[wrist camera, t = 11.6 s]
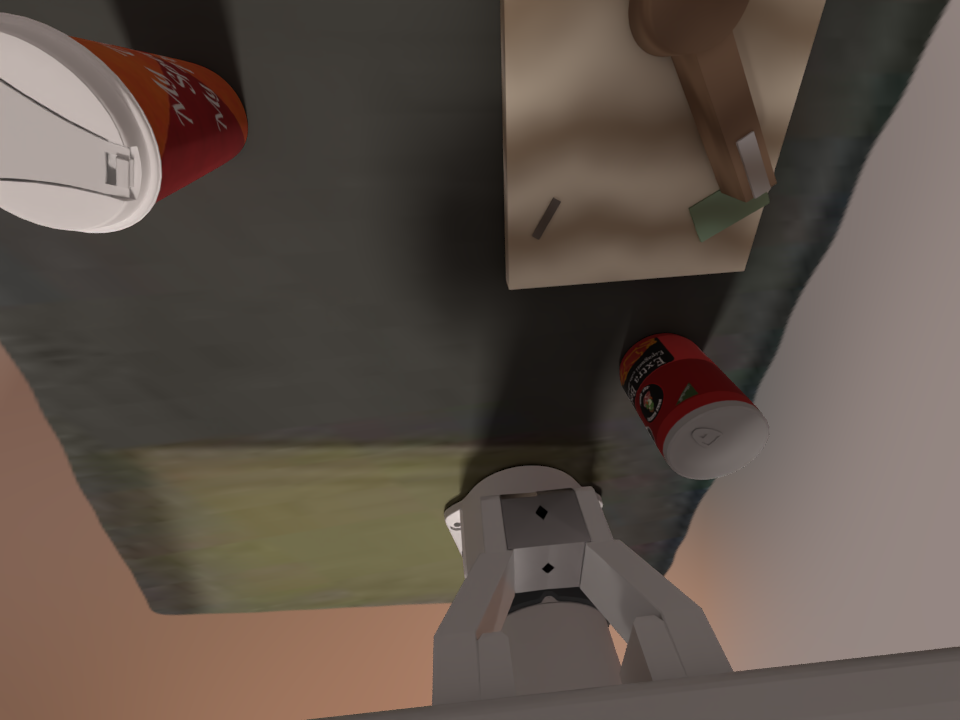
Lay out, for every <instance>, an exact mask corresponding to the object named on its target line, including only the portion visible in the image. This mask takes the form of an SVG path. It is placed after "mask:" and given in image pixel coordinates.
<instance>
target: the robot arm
mask: <svg viewBox="0 0 960 720" xmlns="http://www.w3.org/2000/svg"><path fill="white" fill-rule="evenodd" d="M602 506H603V503H602V499H601V496H600V495H599V494H597V493H595V490H594V489H593V488H592V486H587V487H581V486H580V485H579V484H578V483H577V482H576V481H575V479H573V478H572V477H571V476H570V475H568V474H566V473H564V472H562V471H560V470H557V469H554V468H550V467H545V466H519V467H513V468H509V469H505V470H502V471H499V472H497V473H495V474H492V475H490V476H488V477H487V478H485V479H483V480H482V481H481V482H479V483H478V484H477V485H476V486H475V487H474V488H473V489H472V490H471V491H470V492H469V493H468V495H467V496H466V497H465V498H464V499H463V500H462V501H460V502H458V503H456V504H454V505H452V506H451V507H449V508H448V509H447V510H446V511H445V512H444V517H445V522H446V525H447V527H448V529H449V531H450V533H451V535H452V537H453V539H454V541H455V543H456V545H457V547H458V549H459V551H460V553H461V555H462V557H463V566H464V575H465V578H466V579H465V580H464V582H463V584H462V586H461V588H460V590H459V591H458V593H457V595H456V597H455V599H454V601H453V602H452V604H451V606H450V608H449V610H448V612H447V614H446V615H445V617H444V619H443V621H442V623H441V624H440V626H439V628H438V630H437V632H436V634H435V635H434V648H433V695H432V706H424V707H416V708H407V709H397V710H389V711H380V712H371V713H362V714H353V715H344V716H336V717H327V718H318V719H309V720H960V647H952V648H942V649H934V650H924V651H915V652H907V653H897V654H888V655H880V656H871V657H861V658H852V659H844V660H835V661H826V662H817V663H809V664H799V665H790V666H782V667H773V668H763V669H755V670H746V671H736V672H733V670H732V668H731V666H730V664H729V662H728V660H727V658H726V656H725V654H724V652H723V650H722V648H721V646H720V644H719V642H718V640H717V638H716V636H715V634H714V632H713V630H712V628H711V626H710V624H709V622H708V620H707V618H706V616H705V614H704V612H703V610H702V608H701V607H699V606H698V605H697V604H696V603H695V602H693V601H692V600H691V599H690V598H689V597H687V596H686V595H685V594H684V593H683V592H681V591H680V590H679V589H678V588H677V587H675V586H674V585H673V584H672V583H671V582H670V581H668V580H667V579H666V578H665V577H664V576H662V575H661V574H660V573H659V572H658V571H656V570H655V569H654V568H653V567H652V566H650V565H649V564H648V563H647V562H646V561H644V560H643V559H642V558H641V557H640V556H638V555H637V554H636V553H635V552H634V551H633V550H631V549H630V548H629V547H628V546H627V545H625V544H624V543H623V542H622V541H621V540H614V539H613V537H612V534H611V532H610V529H609V527H608V524H607V521H606V519H605V516H604V514H603V511H602ZM610 624H611V625H612V626H613V627H614V629H615V630H616V631H617V632H618V633H619V634H620V635H621V637H622V638H623V639H624V640H625V641H626V643H627V644H628V645H627V648H626V652H625V655H624V659H623V662H622V666H621V665H620V662H619V659H618V656H617V653H616V650H615V647H614V644H613V641H612V638H611V634H610V631H609V628H608V627H609V625H610Z"/></svg>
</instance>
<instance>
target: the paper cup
mask: <svg viewBox="0 0 960 720" xmlns="http://www.w3.org/2000/svg"><path fill="white" fill-rule="evenodd" d="M247 134H248V122H247V116H246V113H245V110H244V107H243V105H242V103H241V101H240V99H239V97H238V95H237V94H236V93H235V91H234V90H233V89H232V87H231V86H230V85H229V84H228V83H227V82H226V81H225V80H224V79H223V78H221V77H220V76H219V75H218V74H216V73H214V72H213V71H211V70H209V69H207V68H205V67H203V66H200V65H197V64H194V63H191V62H187V61H183V60H179V59H174V58H170V57H165V56H161V55H156V54H152V53H147V52H142V51H138V50H133V49H128V48H124V47H119V46H114V45H109V44H105V43H100V42H95V41H90V40H85V39H81V38H76V37H71V36H68V35H66V34H64V33H62V32H60V31H58V30H56V29H54V28H52V27H50V26H48V25H46V24H44V23H41V22H38V21H35V20H32V19H30V18H27V17H23V16H18V15H13V14H8V13H0V207H1V208H2V209H4V210H6V211H8V212H10V213H12V214H14V215H16V216H18V217H20V218H22V219H25V220H28V221H30V222H33V223H36V224H39V225H43V226H47V227H51V228H55V229H63V230H74V231H80V232H88V233H107V232H113V231H119V230H122V229H124V228H127V227H130V226H132V225H133V224H135V223H137V222H138V221H140V220H141V219H142V218H143V217H144V216H145V215H146V214H147V213H148V212H149V211H150V210H151V208H152V207H153V205H154V204H155V203H156V202H158V201H159V200H161V199H163V198H165V197H166V196H168V195H170V194H172V193H174V192H175V191H177V190H179V189H181V188H183V187H184V186H186V185H188V184H190V183H192V182H193V181H195V180H197V179H199V178H200V177H202V176H204V175H206V174H207V173H209V172H211V171H213V170H214V169H216V168H218V167H219V166H221V165H223V164H224V163H226V162H228V161H229V160H231V159H232V158H233V157H235V156H236V155H237V154H238V153H239V152H240V151H241V149H242V148H243V146H244V144H245V142H246V139H247Z"/></svg>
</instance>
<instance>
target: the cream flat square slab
mask: <svg viewBox="0 0 960 720" xmlns="http://www.w3.org/2000/svg"><path fill="white" fill-rule="evenodd" d="M825 2H826V0H749V3H748V5H747V7H746V10H745V12H744V14H743V15H742V17H741V19H740V21H739V22H738V24H737V25H736V27H735V28H734V29H733V30H732V31H733V34H734V38H735V41H736V45H737V48H738V52H739V55H740V58H741V62H742V65H743V69H744V72H745V76H746V79H747V82H748V86H749V89H750V93H751V96H752V100H753V103H754V106H755V110H756V113H757V117H758V120H759V124H760V127H761V130H762V134H763V137H764V141H765V144H766V148H767V151H768V154H769V158H770V161H771V165H772V168H773V172H774V171H775V167H776V164H777V161H778V157H779V154H780V151H781V147H782V144H783V141H784V137H785V134H786V131H787V128H788V124H789V121H790V118H791V114H792V111H793V108H794V104H795V101H796V98H797V94H798V91H799V88H800V84H801V81H802V78H803V74H804V71H805V68H806V65H807V61H808V58H809V55H810V51H811V48H812V45H813V41H814V38H815V35H816V31H817V28H818V25H819V21H820V18H821V15H822V12H823V8H824V5H825ZM628 8H629V0H500V19H501V67H502V116H503V165H504V214H505V263H506V282H507V285H508V288H509V290H514V289H526V288H539V287H551V286H564V285H576V284H589V283H601V282H614V281H626V280H639V279H651V278H664V277H676V276H689V275H701V274H714V273H726V272H739V271H744V270H745V267H746V263H747V260H748V257H749V253H750V250H751V247H752V244H753V240H754V237H755V234H756V230H757V227H758V224H759V220H760V217H761V214H762V210H763V207H764V206H765V205H767V204H769V203H770V201H769V197H768V191H767V192H765V193H764V194H762V195H761V196H759V197H757V198H756V199H755V198H753V199H751V200H750V201H748V202H747V203H746V202H743V201H741V200H738V199H736V198H733V197H731V196H728V195H726V194H723V193H721V191H720V189H719V186H718V183H717V180H716V178H715V175H714V172H713V170H712V167H711V164H710V161H709V159H708V156H707V153H706V151H705V148H704V145H703V143H702V140H701V137H700V134H699V132H698V129H697V126H696V124H695V121H694V118H693V115H692V113H691V110H690V107H689V105H688V102H687V99H686V96H685V94H684V91H683V88H682V86H681V83H680V80H679V78H678V75H677V72H676V69H675V67H674V64H673V61H672V59H671V56H669V57H656V56H653V55H650V54H648V53H646V52H645V51H643V50H642V49H641V48H640V47H639V46H638V45H637V43H636V42H635V40H634V38H633V36H632V33H631V30H630V26H629V18H628Z"/></svg>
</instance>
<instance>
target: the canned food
mask: <svg viewBox="0 0 960 720" xmlns="http://www.w3.org/2000/svg"><path fill="white" fill-rule="evenodd" d="M620 381H621V385H622V387H623V389H624V390H625V392H626V394H627V396H628V397H629V399H630V401H631V402H632V404H633V406H634V408H635V409H636V411H637V413H638V414H639V416H640V418H641V420H642V421H643V423H644V425H645V426H646V428H647V430H648V432H649V433H650V435H651V437H652V438H653V440H654V442H655V444H656V445H657V447H658V449H659V450H660V452H661V454H662V455H663V457H664V458H665V460H666V462H667V463H668V464H669V465H670V467H671V468H672V469H673V470H674V471H675V472H676V473H678V474H679V475H681V476H683V477H686V478H690V479H697V480H701V479H713V478H718V477H722V476H725V475H728V474H730V473H733V472H735V471H737V470H739V469H741V468H743V467H744V466H746V465H747V464H748V463H750V462H751V461H752V460H753V459H755V458H756V457H757V456H758V455H759V453H760V452H761V451H762V450H763V448H764V446H765V445H766V443H767V440H768V436H769V425H768V422H767V420H766V419H765V417H764V416H763V415H762V413H761V412H760V411H759V409H758V408H757V407H756V406H755V405H754V404H753V403H752V402H751V401H750V400H749V398H748V397H747V396H746V395H745V394H744V393H743V392H742V391H741V390H740V389H739V388H738V387H737V386H736V385H735V384H734V383H733V382H732V381H731V380H730V379H729V378H728V377H727V376H726V375H725V374H724V373H723V372H722V371H721V370H720V369H719V368H718V367H717V366H716V365H715V364H714V363H713V362H712V361H711V360H710V359H709V358H708V357H707V356H706V355H705V354H704V353H703V352H702V350H701V349H700V348H699V347H698V346H697V345H696V344H695V343H693V342H692V341H691V340H689V339H687V338H685V337H682V336H680V335H677V334H672V333H661V334H655V335H652V336H648V337H646V338H644V339H642V340H640V341H639V342H637V343H636V344H634V345H633V346H632V347H631V348H630V349H629V350H628V352H627V353H626V354H625V356H624V357H623V360H622V362H621V365H620Z"/></svg>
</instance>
